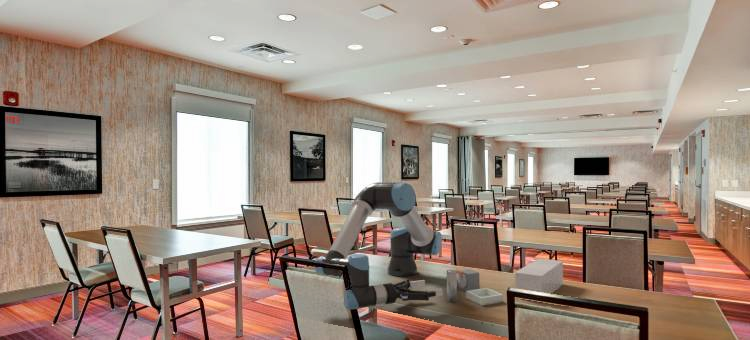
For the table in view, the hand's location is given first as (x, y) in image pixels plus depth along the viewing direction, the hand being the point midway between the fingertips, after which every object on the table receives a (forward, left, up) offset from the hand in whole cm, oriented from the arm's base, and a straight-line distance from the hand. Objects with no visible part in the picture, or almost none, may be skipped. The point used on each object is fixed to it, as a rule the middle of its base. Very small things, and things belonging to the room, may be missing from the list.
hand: (432, 287), depth 172 cm
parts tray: (+5, +21, -6) cm, 22 cm away
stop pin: (0, +9, -6) cm, 11 cm away
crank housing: (-10, +23, -6) cm, 26 cm away
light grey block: (+4, +51, -7) cm, 51 cm away
